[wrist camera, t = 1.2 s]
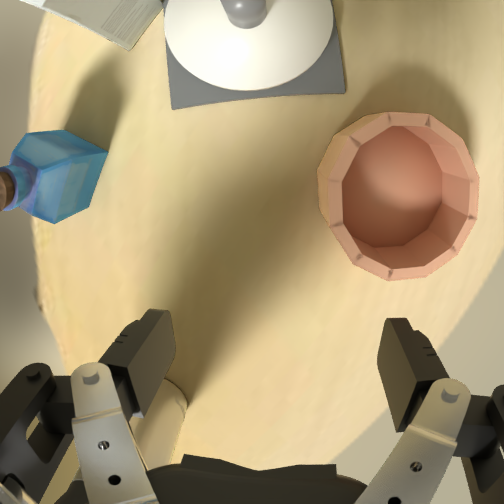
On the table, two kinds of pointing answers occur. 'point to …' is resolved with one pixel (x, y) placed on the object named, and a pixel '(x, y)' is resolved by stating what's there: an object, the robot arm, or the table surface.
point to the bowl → (398, 193)
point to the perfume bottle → (51, 175)
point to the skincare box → (106, 16)
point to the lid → (247, 39)
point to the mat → (310, 82)
